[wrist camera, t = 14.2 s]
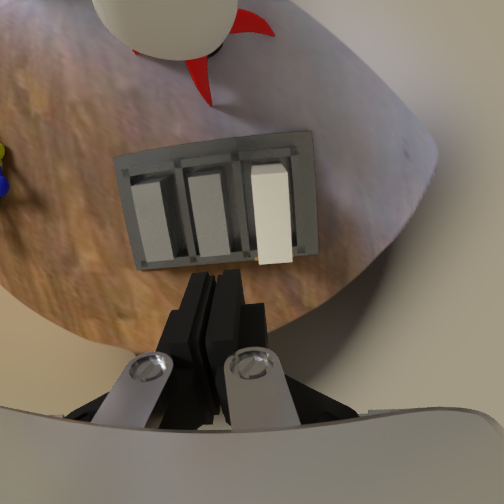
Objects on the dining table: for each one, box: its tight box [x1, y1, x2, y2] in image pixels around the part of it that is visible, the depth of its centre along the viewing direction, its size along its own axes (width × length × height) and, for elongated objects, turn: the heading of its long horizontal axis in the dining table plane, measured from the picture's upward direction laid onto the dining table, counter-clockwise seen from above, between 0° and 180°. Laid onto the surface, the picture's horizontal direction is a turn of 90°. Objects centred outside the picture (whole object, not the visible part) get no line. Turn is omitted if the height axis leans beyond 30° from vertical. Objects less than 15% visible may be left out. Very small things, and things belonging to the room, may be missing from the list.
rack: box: [113, 131, 319, 270], centre depth 33 cm, size 14×22×6 cm, turn 96°
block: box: [251, 162, 293, 265], centre depth 31 cm, size 8×3×8 cm, turn 5°
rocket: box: [92, 0, 275, 107], centre depth 17 cm, size 11×11×25 cm
